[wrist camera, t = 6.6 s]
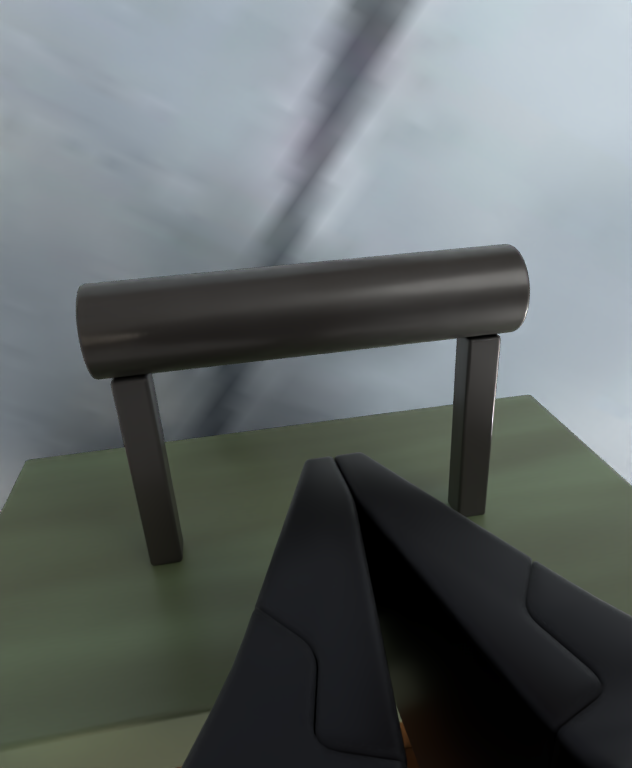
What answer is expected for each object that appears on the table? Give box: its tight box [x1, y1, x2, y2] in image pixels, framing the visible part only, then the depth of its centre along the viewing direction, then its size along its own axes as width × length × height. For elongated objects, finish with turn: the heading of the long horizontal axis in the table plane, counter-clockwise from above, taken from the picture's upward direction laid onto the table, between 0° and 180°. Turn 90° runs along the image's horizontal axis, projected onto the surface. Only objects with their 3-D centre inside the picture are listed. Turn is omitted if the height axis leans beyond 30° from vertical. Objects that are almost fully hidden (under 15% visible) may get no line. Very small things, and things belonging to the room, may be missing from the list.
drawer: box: [0, 244, 632, 768], centre depth 14 cm, size 19×13×8 cm
